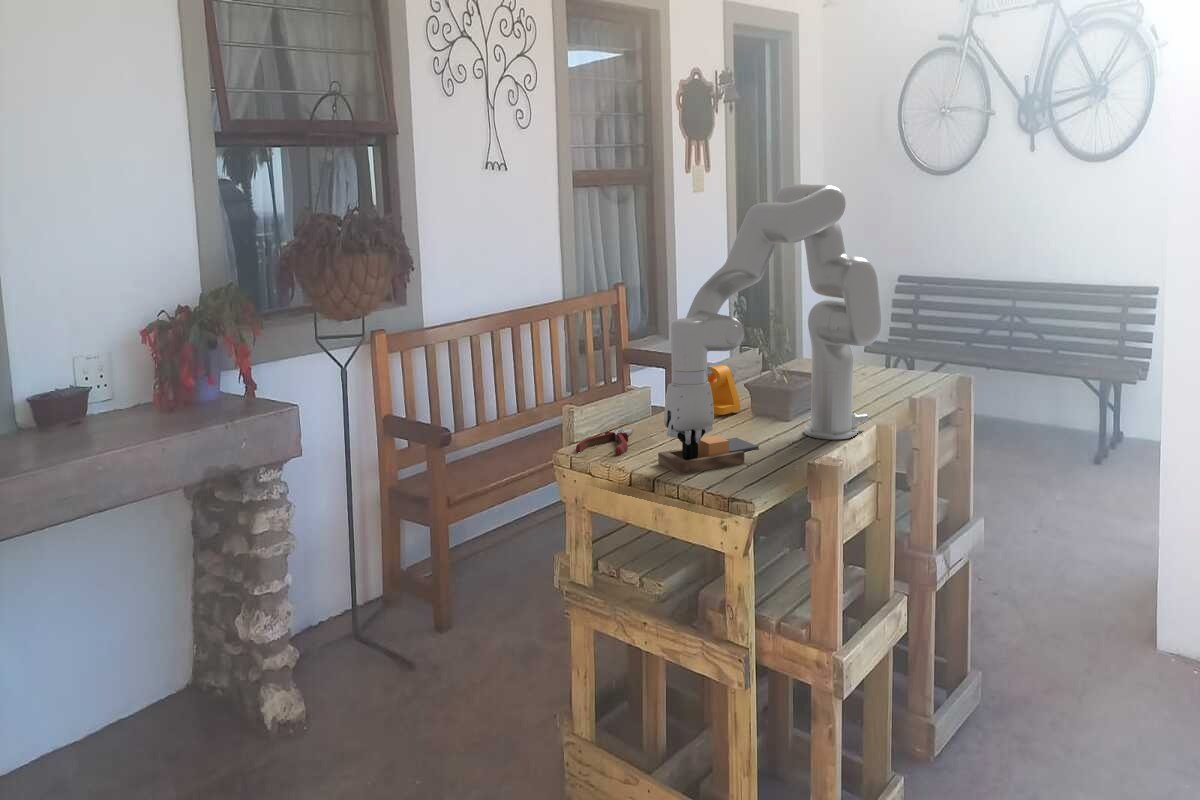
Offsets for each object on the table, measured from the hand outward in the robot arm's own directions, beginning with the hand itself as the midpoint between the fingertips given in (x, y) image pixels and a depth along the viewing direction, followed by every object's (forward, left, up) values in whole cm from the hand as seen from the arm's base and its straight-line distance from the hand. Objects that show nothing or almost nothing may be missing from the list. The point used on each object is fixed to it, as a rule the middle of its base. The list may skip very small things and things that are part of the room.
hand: (690, 460), depth 224 cm
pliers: (+6, -24, -2) cm, 24 cm away
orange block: (-6, 0, -1) cm, 6 cm away
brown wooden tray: (-3, 0, -1) cm, 3 cm away
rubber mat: (-16, -8, -1) cm, 17 cm away
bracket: (-30, -38, -1) cm, 48 cm away
